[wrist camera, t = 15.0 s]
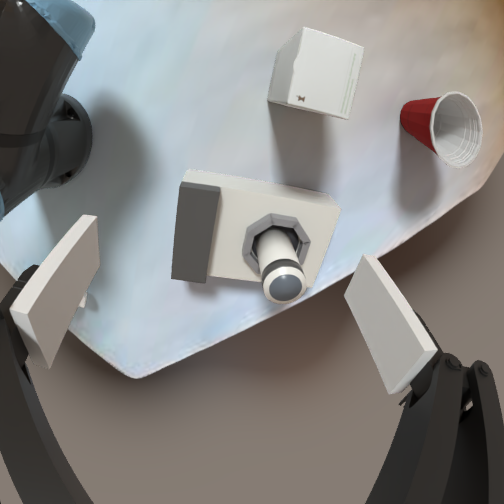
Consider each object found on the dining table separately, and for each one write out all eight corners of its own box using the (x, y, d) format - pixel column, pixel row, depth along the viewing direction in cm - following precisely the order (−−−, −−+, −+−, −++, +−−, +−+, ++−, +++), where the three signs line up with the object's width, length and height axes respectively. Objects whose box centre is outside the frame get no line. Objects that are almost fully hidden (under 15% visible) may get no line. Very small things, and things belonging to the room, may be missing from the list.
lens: (251, 256, 43) (259, 303, 34) (259, 225, 41) (269, 267, 32) (285, 261, 44) (300, 306, 35) (294, 230, 41) (313, 272, 33)
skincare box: (308, 111, 38) (350, 125, 25) (263, 100, 37) (283, 107, 24) (320, 58, 34) (369, 48, 21) (275, 46, 33) (303, 25, 20)
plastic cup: (444, 102, 37) (492, 115, 27) (426, 156, 43) (470, 179, 32) (397, 73, 35) (445, 76, 25) (378, 132, 40) (421, 151, 30)
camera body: (178, 250, 48) (171, 278, 42) (187, 168, 42) (179, 186, 35) (303, 266, 52) (314, 295, 46) (328, 193, 45) (346, 215, 39)
